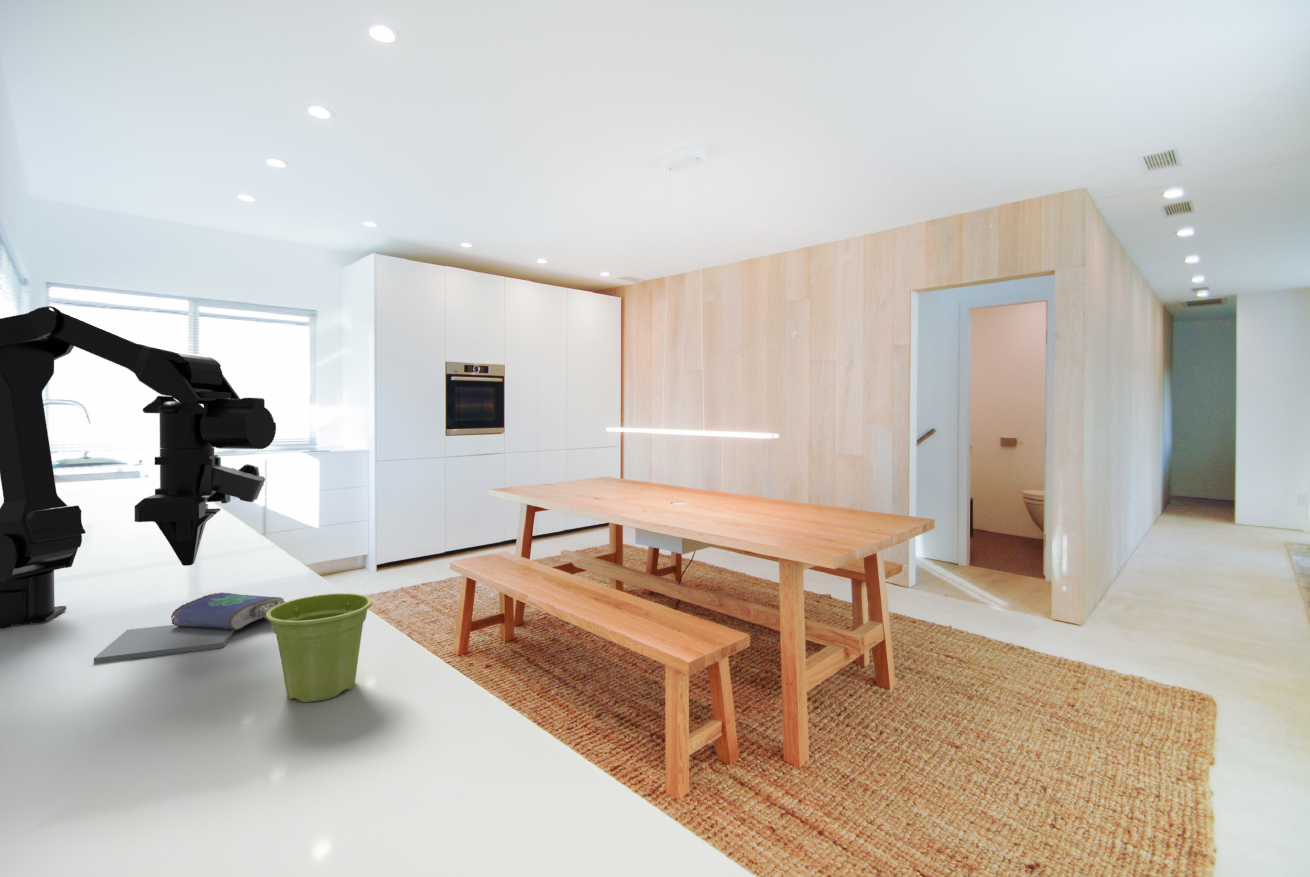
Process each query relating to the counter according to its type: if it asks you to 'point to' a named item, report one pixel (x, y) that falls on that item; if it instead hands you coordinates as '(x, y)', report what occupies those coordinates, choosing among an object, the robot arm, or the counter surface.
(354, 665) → the plant pot
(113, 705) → the counter surface
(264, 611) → the flask
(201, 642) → the serving mat
